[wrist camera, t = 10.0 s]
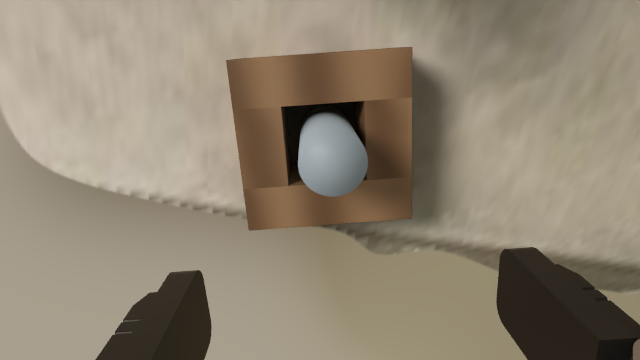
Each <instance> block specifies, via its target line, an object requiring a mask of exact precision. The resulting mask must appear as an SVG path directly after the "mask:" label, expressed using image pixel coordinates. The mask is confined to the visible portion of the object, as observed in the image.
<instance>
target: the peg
mask: <svg viewBox="0 0 640 360" xmlns="http://www.w3.org/2000/svg"><path fill="white" fill-rule="evenodd" d="M367 167H368V157H367V153H366V150H365V148H364V146H363V144H362V142H361V141H360V139H359V137H358V136H357V134H356V133H355V131H354V129H353V128H352V126H351V124H350V123H349V121H348V119H347V118H346V116H345V115H344V114H343V113H342V112H341V111H340V110H338V109H337V108H334V107H331V106H320V107H317V108H314V109H313V110H311V111H310V112H309V113H308V114H307V115H306V116H305V117H304V119H303V121H302V124H301V130H300V142H299V155H298V169H299V173H300V176H301V178H302V180H303V182H304V183H305V184H306V185H307V187H309V188H310V189H311V190H312V191H314V192H316V193H318V194H320V195H323V196H329V197H336V196H341V195H345V194H347V193H349V192H351V191H353V190H354V189H355V188H356V187H357V186H358V185H359V184H360V183H361V182H362V180H363V179H364V177H365V175H366V172H367Z"/></svg>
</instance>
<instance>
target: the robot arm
mask: <svg viewBox="0 0 640 360" xmlns="http://www.w3.org/2000/svg"><path fill="white" fill-rule="evenodd" d="M497 309H498V314H499V317H500V319H501V322H502V323H503V325H504V327H505V328H506V329H507V331H508V332H509V334H510V335H511V337H512V338H513V339H514V341H515V342H516V343H517V345H518V346H519V348H520V349H521V351H522V352H523V354H524V355H525V356H526V358H527V359H528V360H640V325H639V324H638V323H637V322H636V321H634V320H633V319H632V318H631V317H630V316H628V315H627V314H626V313H625V312H624V311H622V310H621V309H620V308H619V307H618V306H616V305H615V304H614V303H613V302H612V301H608V300H607V297H606V296H604V295H603V294H602V293H601V292H600V291H598V290H595V289H594V286H592V285H591V284H590V283H589V282H588V281H586V280H585V279H584V278H583V277H582V276H580V275H579V274H577V273H575V272H573V271H571V270H569V269H567V268H565V267H563V266H561V265H558V264H557V265H555V264H554V263H553V262H551V261H550V260H549V259H548V258H547V257H546V256H545V255H543V254H542V253H541V252H540V251H539V250H538V249H536V248H534V247H529V248H515V249H504V250H503V251H502V253H501V256H500V264H499V277H498V289H497ZM210 339H211V319H210V313H209V308H208V301H207V296H206V290H205V285H204V279H203V276H202V273H201V271H199V270H197V271H182V272H171V273H169V275H168V276H167V278H166V280H165V281H164V282H163V284H162V286H161V287H160V289H159V290H158V292H154V293H149V294H147V296H145V297H144V298H143V299H141V300H140V301H138V302H137V303H136V304H135V305H133V307H132V308H131V309H130V311H129V312H128V314H127V315H126V317H125V318H124V320H123V323H121V324H120V325H119V327H118V328H117V330H116V331H115V335H112V337H111V338H110V340H109V341H108V343H107V344H106V345H105V347H104V348H103V350H102V351H101V353H100V354H99V356H98V357H97V359H96V360H204V359H205V356H206V353H207V350H208V347H209V344H210Z"/></svg>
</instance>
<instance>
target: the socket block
mask: <svg viewBox="0 0 640 360" xmlns="http://www.w3.org/2000/svg"><path fill="white" fill-rule="evenodd" d="M226 63H227V70H228V78H229V85H230V93H231V100H232V108H233V115H234V123H235V130H236V138H237V145H238V153H239V160H240V168H241V175H242V183H243V190H244V198H245V205H246V213H247V220H248V227H249V230H262V229H275V228H288V227H303V226H316V225H330V224H343V223H357V222H370V221H384V220H398V219H411V218H412V47H402V48H386V49H372V50H358V51H344V52H329V53H315V54H301V55H287V56H273V57H258V58H244V59H233V60H226ZM354 101H356V111H357V136H358V137H359V139H360V141H361V142H362V144H363V146H364V148H365V150H366V153H367V157H368V167H367V172H366V175H365V177H364V179H363V180H362V182H361V183H360V184H359V185H358V186H357V187H356V188H355V189H354V190H353V191H351V192H349V193H347V194H345V195H341V196H336V197H329V196H323V195H320V194H318V193H316V192H314V191H312V190H311V189H310V188H309V187H307V185H306V184H305V183H304V182H303V180H302V178H301V176H300V173H299V169H298V166H296V167H291V160H290V149H289V138H288V127H287V117H286V106H298V105H312V104H326V103H340V102H354Z"/></svg>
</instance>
